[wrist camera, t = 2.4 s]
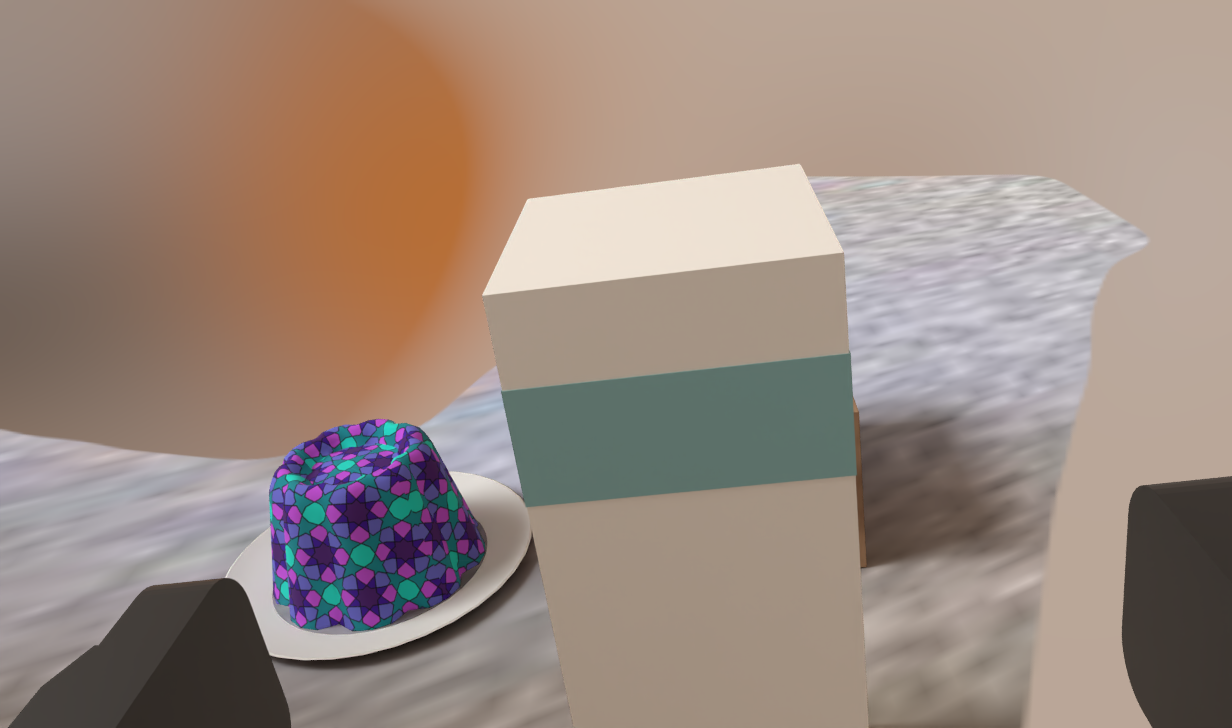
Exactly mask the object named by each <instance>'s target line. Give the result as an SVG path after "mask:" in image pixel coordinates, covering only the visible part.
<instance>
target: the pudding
mask: <svg viewBox="0 0 1232 728" xmlns="http://www.w3.org/2000/svg"><path fill="white" fill-rule="evenodd" d="M269 501H270V526H271V527H270V528H269V529H267V530H266V531H265V532H263V533H262V534H261V535H259V536H258V537H257V538H256V539H255V540H254V541H253V542H252V543H251V544H250V545H249V546H248V547H247V548H246V549H245V550H244V551H243V552H242V553H241V554H240V556H239V557H238V558H237V560H236V561H235V562H234V563H233V565H232V566H231V567H230V569H229V571H228V573H227V575H226V577H225V578H231V579H234V580H236V581H237V582H238V583H239V584H240V585H241V586H242V587H243V588H244V590H245V592H246V593H247V596H248V598H249V600H250V603H251V606H252V608H253V611H254V614H255V617H256V619H257V622H258V625H259V627H260V630H261V633H262V636H263V638H264V641H265V644H266V646H267V649H268V652H269V655H271V656H275V657H280V658H288V659H297V660H330V659H339V658H346V657H353V656H359V655H365V654H369V653H373V652H377V651H381V650H384V649H388V648H392V647H396V646H399V645H401V644H404V643H407V642H409V641H412V640H415V639H417V638H420V637H423V636H425V635H428V634H430V633H432V632H434V631H436V630H438V629H440V628H442V627H444V626H446V625H448V624H450V623H452V622H454V621H455V620H457V619H459V618H460V617H462V616H463V615H465V614H466V613H468V612H470V611H471V610H473V609H474V608H476V607H477V606H479V605H480V604H481V603H483V602H484V601H485V600H486V599H487V598H489V597H490V596H491V595H492V594H493V593H495V592H496V591H497V590H498V589H499V588H500V587H501V586H502V585H503V584H504V583H505V582H506V581H507V580H508V578H509V577H510V576H511V575H512V574H513V573H514V572H515V570H516V569H517V567H518V566H519V564H520V562H521V561H522V559H523V558H524V556H525V554H526V552H527V549H528V546H529V543H530V540H531V535H532V529H531V524H530V519H529V514H528V510H527V507H525V503H524V502H523V500H522V499H521V497H520V496H519V495H517V494H516V493H515V492H514V491H513V490H511V489H510V488H509V487H507V486H505V485H503V484H501V483H499V482H497V481H495V480H492V479H489V478H486V477H483V476H479V475H475V474H469V473H462V472H451V471H448V470H447V468H446V466H445V464H444V463H443V461H442V459H441V457H440V455H439V454H438V452H437V450H436V448H435V447H434V445H433V443H432V441H431V440H430V439H429V437H428V436H427V435H426V433H425V432H424V431H422V430H421V429H420V428H419V427H416V426H413V425H410V424H407V423H401V424H396V423H394V422H393V421H391V420H385V419H375V420H368V421H366V422H363V423H360V424H358V425H342V426H339V427H334V428H332V429H329V430H327V431H325V432H323V433H321V434H320V435H319V436H318V437H317V438H316V439H314V440H310V441H307V442H304V443H301V444H300V445H298V446H296V447H295V448H293V449H292V450H291V451H290V452H289V453H288V455H287V456H286V457H285V458H284V461H283V465H281V466H280V467H279V468H278V469H277V470H276V471H275V473H274V476H273V478H272V482H271V485H270V490H269ZM475 519H476V520H477V521H478V522H479V523H480V524H481V525H482V527H483V529H484V530H485V532H486V537H487V550H486V554H485V542H484V540H483V538H482V537H481V535H480V533H479V531H478V529H477V526H478V523H477V521H476V520H475ZM484 554H485V557H484V559H483V562H482V564H481V566H480V567H479V569H478V570H477V572H476V573H475V575H474V576H473V577H472V578H471V579H470V580H469V581H468V582H467V583H466V585H465V586H464V587H463V588H461V589H460V590H459V591H458V592H456V593H455V594H454V595H453V596H451V595H452V594H453V593H454V592H455V591H456V590H457V589H458V588H459V587H460V581H461V574H462V573H464V572H465V571H467V570H469V569H471V568H472V567H474V566H476V565H478V564H479V563H480V561H481V559H482V558H483V556H484ZM272 591H273V595H274V597H275V600H276V602H277V604H280V605H285V606H290V616H291V621H292V622H294V623H295V624H296V625H298V626H299V627H300V628H306V629H313V630H319V629H323V628H327V627H330V626H334V625H337V624H340V625H342V626H344V627H346V628H348V629H349V630H351V631H364V630H373V629H376V628H379V627H383V626H386V625H389V624H392V623H393V622H395V621H396V620H397V619H398V618H399V617H401V616H402V615H403V614H404V613H406V612H407V611H408V610H414V609H422V608H430V607H432V606H434V605H436V604H438V603H440V602H442V601H443V600H445V599H447V598H449V597H450V596H451V597H450V598H449V599H447V600H446V601H444V602H443V603H441V604H439V605H438V606H436V607H435V608H433V609H431V610H429V611H427V612H425V613H423V614H421V615H419V616H417V617H415V618H413V619H410V620H407V621H404V622H402V623H399V624H396V625H394V626H390V627H386V628H382V629H378V630H374V631H370V632H363V633H356V634H342V635H329V634H319V633H312V632H309V631H305V630H301V629H298V628H296V627H295V626H293V625H291V624H289V623H287V622H286V621H285V620H284V619H283V618H282V617H280V616H279V615H278V613H277V611H276V609H275V607H274V606H273V599H272Z"/></svg>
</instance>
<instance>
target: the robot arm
mask: <svg viewBox="0 0 1232 728" xmlns="http://www.w3.org/2000/svg"><path fill="white" fill-rule="evenodd" d="M1122 644H1123V652H1124V658H1125V664H1126V668H1127V672H1128V676H1129V679H1130V682H1131V686H1132V688H1133V691H1134V694H1135V696H1136V698H1137V701H1138V703H1139V705H1140V707H1141V709H1142V710H1143V712H1144V714H1145V716H1146V717H1147V719H1148V721H1149V722H1150V724H1151V726H1152V728H1232V476H1230V477H1221V478H1210V479H1202V480H1191V481H1181V482H1172V483H1162V484H1152V485H1143V486H1139V487H1138V488H1136V490H1135V491H1134V492H1133V494H1132V497H1131V500H1130V504H1129V513H1128V529H1127V547H1126V565H1125V583H1124V602H1123V620H1122ZM8 728H291V720H290V713H289V708H288V704H287V701H286V698H285V695H284V693H283V690H282V687H281V685H280V682H279V679H278V676H277V674H276V671H275V668H274V666H273V663H272V660H271V657H270V655H269V652H268V649H267V646H266V644H265V641H264V638H263V636H262V633H261V630H260V627H259V625H258V622H257V619H256V617H255V614H254V611H253V608H252V606H251V603H250V600H249V598H248V596H247V593H246V592H245V590H244V588H243V587H242V586H241V585H240V584H239V583H238V582H237V581H236V580H234V579H231V578H221V579H211V580H202V581H192V582H182V583H173V584H163V585H153V586H150V587H147V588H146V589H145V590H143V591H142V592H141V593H140V594H139V595H138V596H137V597H136V598H135V600H134V601H133V602H132V604H131V605H130V606H129V607H128V609H127V610H126V611H125V612H124V614H123V615H122V616H121V618H120V619H119V620H118V621H117V623H116V624H115V625H114V626H113V628H112V629H111V630H110V632H109V633H108V634H107V635H106V637H105V638H104V639H103V641H102V642H101V643H100V644H99V645H97V646H93V647H92V648H91V649H89V650H88V651H87V652H86V653H84V654H83V655H82V656H80V657H79V658H78V659H77V660H75V661H74V662H73V663H71V664H70V665H69V666H68V667H66V668H65V669H64V670H62V671H61V672H60V673H59V674H57V675H56V676H55V677H53V678H52V679H51V680H50V681H48V682H47V683H46V684H45V685H43V686H42V687H41V688H40V689H39V690H38V692H37V693H36V694H35V695H34V696H33V698H32V699H31V700H30V701H29V703H28V704H27V705H26V706H25V708H24V709H23V710H22V711H21V712H20V714H19V715H18V716H17V717H16V719H15V720H14V721H13V722H12V723H11V725H10V726H9V727H8Z"/></svg>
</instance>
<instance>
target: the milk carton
mask: <svg viewBox="0 0 1232 728" xmlns="http://www.w3.org/2000/svg"><path fill="white" fill-rule="evenodd" d="M482 297H483V302H484V307H485V311H486V316H487V321H488V325H489V330H490V335H491V339H492V344H493V349H494V354H495V359H496V363H497V368H498V373H499V378H500V382H501V387H502V391H501V394H502V398H503V403H504V408H505V412H506V417H507V422H508V427H509V431H510V436H511V441H512V445H513V450H514V455H515V460H516V464H517V469H518V474H519V478H520V483H521V488H522V493H523V497H524V502H525V507H527V510H528V514H529V519H530V524H531V529H532V533H533V538H534V543H535V547H536V552H537V557H538V562H539V566H540V571H541V576H542V581H543V585H544V590H545V595H546V599H547V604H548V609H549V614H550V618H551V623H552V628H553V632H554V637H555V642H556V647H557V651H558V656H559V661H560V666H561V670H562V675H563V680H564V684H565V689H566V694H567V699H568V703H569V708H570V713H571V717H572V722H573V727H574V728H869V720H868V701H867V682H866V663H865V644H864V625H863V606H862V587H861V568H860V549H859V530H858V511H857V492H856V475H857V468H856V448H855V429H854V410H853V391H852V372H851V353H850V351H849V340H848V322H847V303H846V284H845V265H844V252H843V250H842V248H841V246H840V244H839V242H838V240H837V238H836V236H835V233H834V231H833V229H832V227H831V225H830V223H829V221H828V219H827V217H826V215H825V213H824V211H823V209H822V207H821V205H820V203H819V201H818V199H817V197H816V195H815V193H814V191H813V189H812V187H811V185H810V183H809V181H808V179H807V177H806V175H805V173H804V171H803V169H802V167H801V165H800V164H796V165H788V166H780V167H773V168H765V169H758V170H749V171H742V172H734V173H726V174H719V175H710V176H703V177H696V178H687V179H679V180H672V181H664V182H657V183H649V184H641V185H633V186H625V187H618V188H610V189H602V190H594V191H586V192H579V193H571V194H564V195H556V196H548V197H540V198H532V199H528V200H527V202H526V204H525V206H524V208H523V210H522V213H521V215H520V217H519V219H518V221H517V223H516V225H515V227H514V229H513V232H512V234H511V236H510V238H509V240H508V242H507V244H506V246H505V248H504V250H503V253H502V255H501V257H500V259H499V261H498V263H497V265H496V267H495V270H494V272H493V274H492V276H491V278H490V280H489V282H488V285H487V287H486V289H485V291H484V293H483V295H482Z"/></svg>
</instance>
